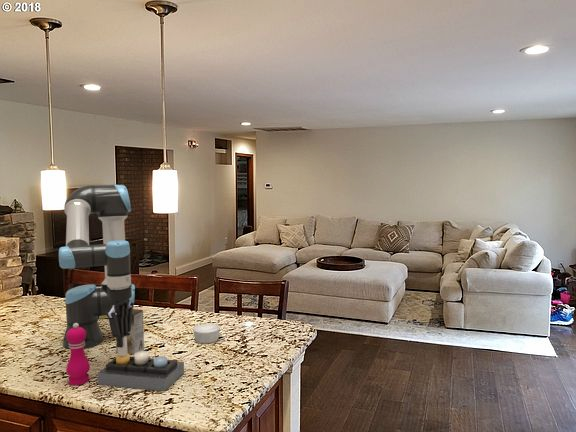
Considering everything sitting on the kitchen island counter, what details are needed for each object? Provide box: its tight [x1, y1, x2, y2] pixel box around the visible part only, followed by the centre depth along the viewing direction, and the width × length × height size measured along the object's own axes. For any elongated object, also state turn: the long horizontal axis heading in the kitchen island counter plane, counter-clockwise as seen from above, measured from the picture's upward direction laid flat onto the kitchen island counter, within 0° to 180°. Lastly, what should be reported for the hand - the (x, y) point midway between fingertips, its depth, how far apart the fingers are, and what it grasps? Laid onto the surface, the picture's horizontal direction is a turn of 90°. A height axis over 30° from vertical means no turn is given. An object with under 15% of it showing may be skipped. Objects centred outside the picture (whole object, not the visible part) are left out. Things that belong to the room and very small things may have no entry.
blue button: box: [154, 355, 168, 368], centre depth 155 cm, size 4×4×7 cm
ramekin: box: [192, 322, 221, 344], centre depth 193 cm, size 11×11×5 cm
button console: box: [97, 356, 185, 392], centre depth 157 cm, size 24×14×6 cm, turn 77°
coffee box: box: [115, 308, 145, 355], centre depth 182 cm, size 9×6×16 cm
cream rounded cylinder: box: [133, 350, 149, 366], centre depth 156 cm, size 4×4×7 cm
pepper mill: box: [65, 323, 91, 386], centre depth 155 cm, size 7×7×20 cm
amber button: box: [115, 354, 131, 365], centre depth 158 cm, size 4×4×7 cm
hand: (122, 355), depth 158 cm, fingers closed
